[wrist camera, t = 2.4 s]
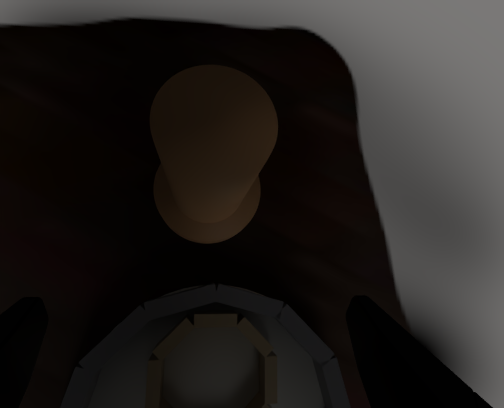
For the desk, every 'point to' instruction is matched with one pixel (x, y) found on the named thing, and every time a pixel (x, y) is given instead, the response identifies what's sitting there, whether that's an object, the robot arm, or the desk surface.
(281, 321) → the carrier plate
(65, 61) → the desk surface
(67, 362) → the desk surface
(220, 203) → the brown waisted peg
